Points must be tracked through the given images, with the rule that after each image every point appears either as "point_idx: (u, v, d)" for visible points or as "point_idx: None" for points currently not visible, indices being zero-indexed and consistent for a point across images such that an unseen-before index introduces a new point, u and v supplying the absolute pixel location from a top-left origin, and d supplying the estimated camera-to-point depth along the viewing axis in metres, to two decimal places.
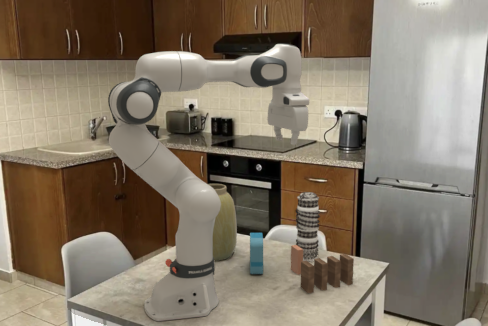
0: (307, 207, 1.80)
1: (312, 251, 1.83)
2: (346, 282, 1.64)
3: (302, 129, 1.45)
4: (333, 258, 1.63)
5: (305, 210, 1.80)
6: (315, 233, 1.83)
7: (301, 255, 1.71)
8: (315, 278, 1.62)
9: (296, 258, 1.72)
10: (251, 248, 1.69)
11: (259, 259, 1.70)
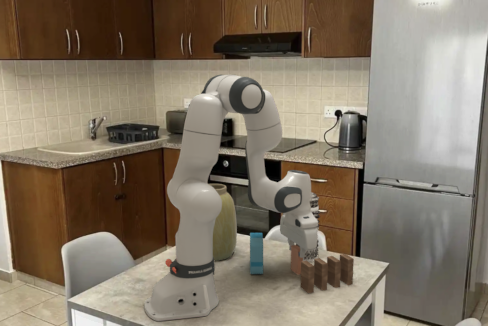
0: None
1: (312, 251, 1.83)
2: (346, 282, 1.64)
3: (312, 249, 1.63)
4: (333, 258, 1.63)
5: None
6: None
7: None
8: (315, 278, 1.62)
9: (296, 258, 1.72)
10: (251, 248, 1.69)
11: (259, 259, 1.70)
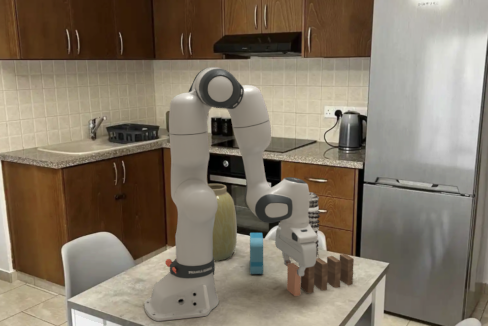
0: None
1: None
2: (346, 282, 1.64)
3: (310, 265, 1.47)
4: (333, 258, 1.63)
5: None
6: None
7: (298, 275, 1.55)
8: (315, 278, 1.62)
9: (293, 278, 1.56)
10: (251, 248, 1.69)
11: (259, 259, 1.70)
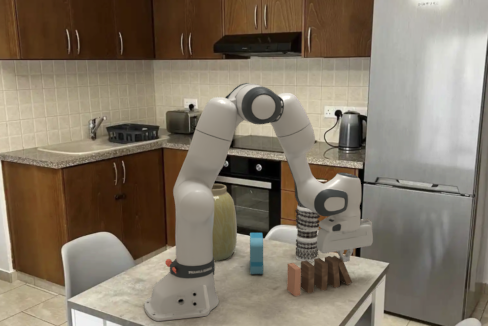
0: None
1: (312, 251, 1.83)
2: (345, 282, 1.64)
3: (319, 250, 1.59)
4: (330, 258, 1.62)
5: (305, 210, 1.80)
6: (315, 233, 1.83)
7: (298, 275, 1.55)
8: (315, 278, 1.62)
9: (293, 278, 1.56)
10: (251, 248, 1.69)
11: (259, 259, 1.70)
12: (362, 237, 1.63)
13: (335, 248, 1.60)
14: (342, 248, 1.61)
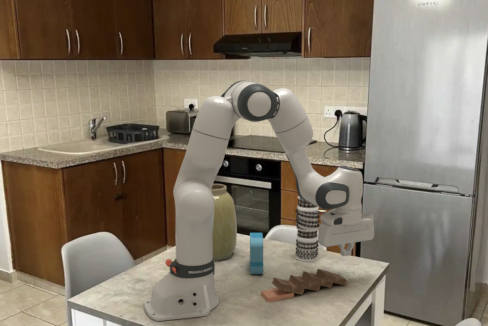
0: (307, 207, 1.80)
1: (312, 251, 1.83)
2: None
3: (321, 244, 1.59)
4: (306, 276, 1.59)
5: (305, 210, 1.80)
6: (315, 233, 1.83)
7: (274, 298, 1.52)
8: None
9: None
10: (251, 248, 1.69)
11: (259, 259, 1.70)
12: (363, 231, 1.63)
13: (336, 242, 1.59)
14: (343, 242, 1.60)
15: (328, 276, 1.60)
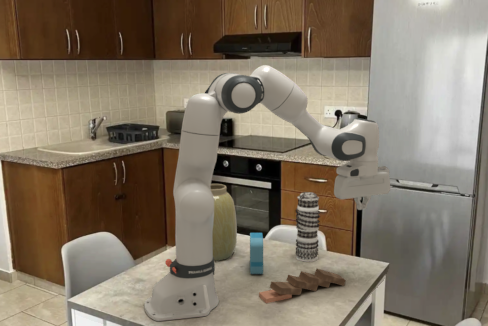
0: (307, 207, 1.80)
1: (312, 251, 1.83)
2: None
3: (337, 197, 1.58)
4: (303, 276, 1.60)
5: (305, 210, 1.80)
6: (315, 233, 1.83)
7: (272, 299, 1.52)
8: None
9: None
10: (251, 248, 1.69)
11: (259, 259, 1.70)
12: (379, 184, 1.62)
13: (353, 194, 1.59)
14: (360, 195, 1.60)
15: (326, 276, 1.60)
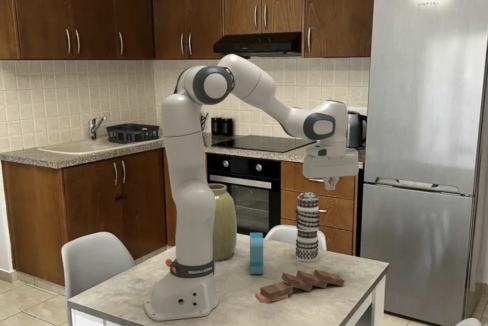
0: (307, 207, 1.80)
1: (312, 251, 1.83)
2: None
3: (305, 176, 1.62)
4: (299, 275, 1.60)
5: (305, 210, 1.80)
6: (315, 233, 1.83)
7: (268, 299, 1.52)
8: None
9: None
10: (251, 248, 1.69)
11: (259, 259, 1.70)
12: (348, 166, 1.66)
13: (320, 174, 1.62)
14: (327, 175, 1.63)
15: (324, 277, 1.60)
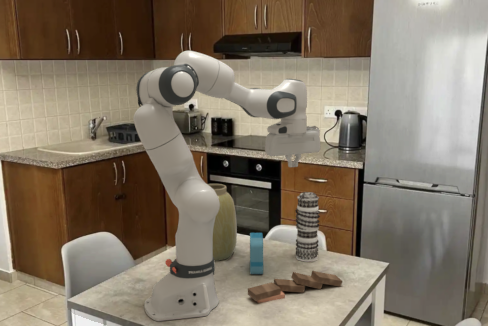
0: (307, 207, 1.80)
1: (312, 251, 1.83)
2: None
3: (267, 154, 1.66)
4: (294, 277, 1.60)
5: (305, 210, 1.80)
6: (315, 233, 1.83)
7: (264, 299, 1.52)
8: None
9: None
10: (251, 248, 1.69)
11: (259, 259, 1.70)
12: (309, 143, 1.70)
13: (282, 151, 1.66)
14: (289, 152, 1.67)
15: (321, 278, 1.60)
